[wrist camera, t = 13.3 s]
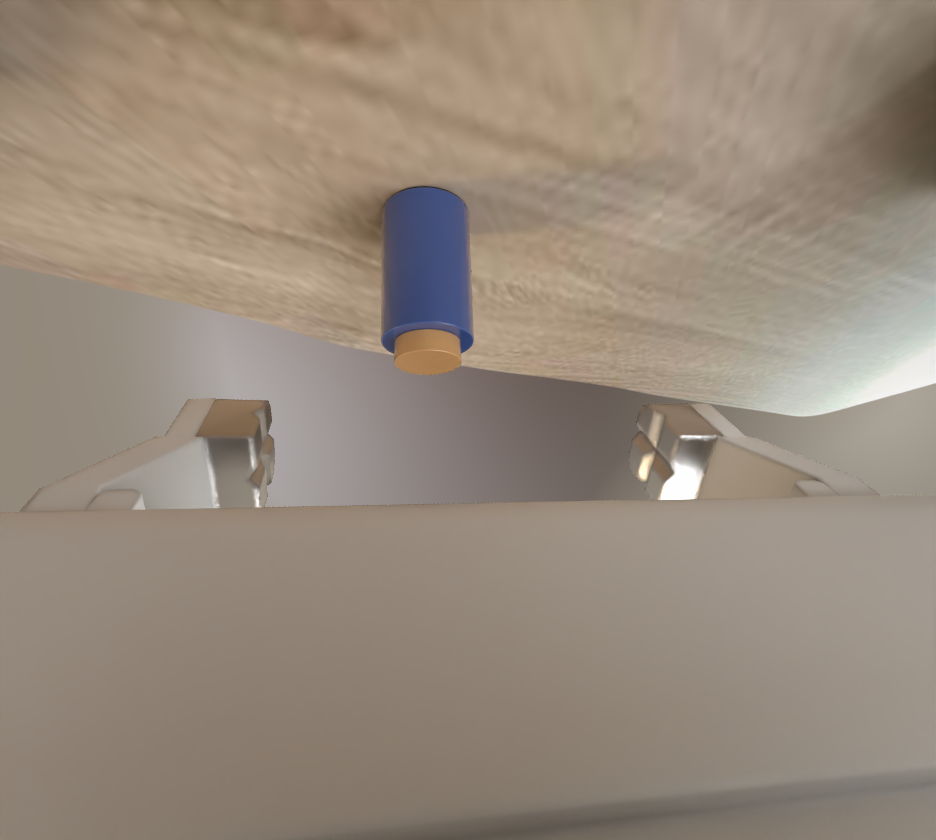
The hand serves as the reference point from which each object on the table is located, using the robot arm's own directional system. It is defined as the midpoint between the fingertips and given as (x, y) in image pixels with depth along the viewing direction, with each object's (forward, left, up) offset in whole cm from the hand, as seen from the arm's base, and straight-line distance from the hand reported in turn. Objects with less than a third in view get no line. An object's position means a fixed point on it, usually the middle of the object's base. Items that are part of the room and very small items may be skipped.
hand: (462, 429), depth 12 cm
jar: (+9, -8, -14) cm, 18 cm away
